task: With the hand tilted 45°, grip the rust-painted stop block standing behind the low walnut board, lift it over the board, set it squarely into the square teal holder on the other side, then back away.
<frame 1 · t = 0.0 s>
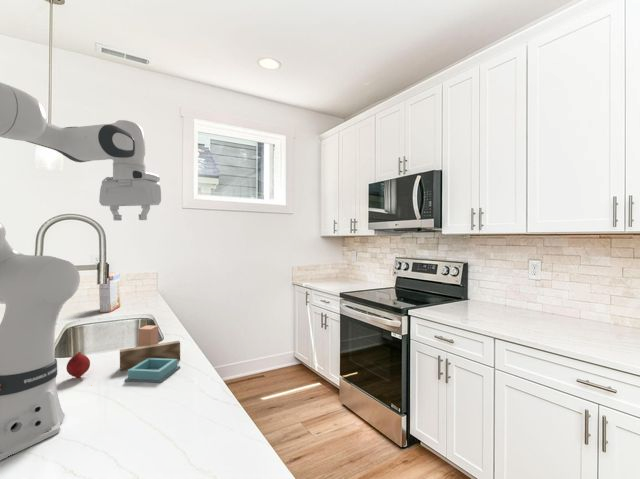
hand: (130, 220, 104), 48 cm above the counter, tool pointing down, fingers open, 8 cm apart
onion: (78, 378, 102), on the counter
cracker box: (110, 310, 193), on the counter
walnut board: (151, 363, 113), on the counter
stop block: (148, 354, 121), on the counter
holder: (153, 374, 104), on the counter
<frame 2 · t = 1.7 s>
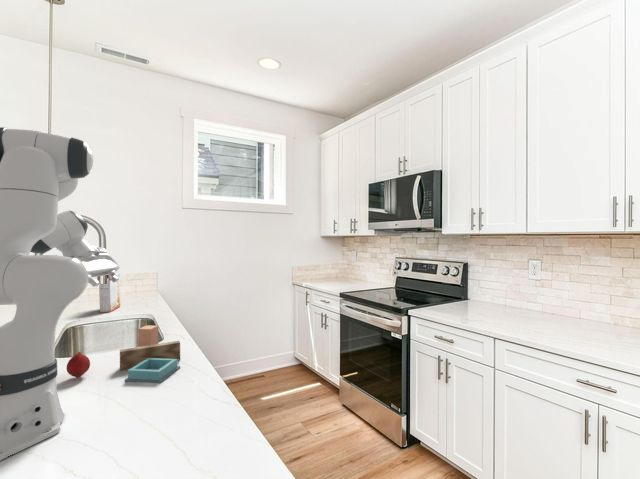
hand: (107, 283, 121), 26 cm above the counter, tool tilted 45°, fingers open, 8 cm apart
nothing on the counter moved.
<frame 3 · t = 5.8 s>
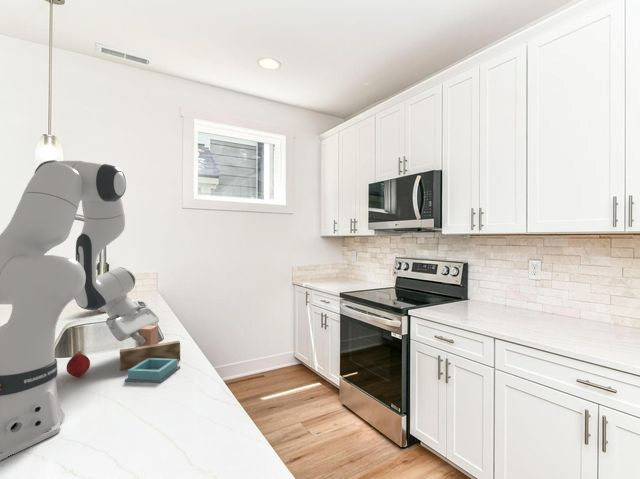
hand: (150, 339, 121), 5 cm above the counter, tool tilted 45°, fingers closed on stop block, 5 cm apart
stop block: (148, 354, 121), on the counter, touching gripper
everything else where it was.
when the fingers open (7 cm above the counter, at t = 12.9 s): stop block drops 2 cm, resting on holder.
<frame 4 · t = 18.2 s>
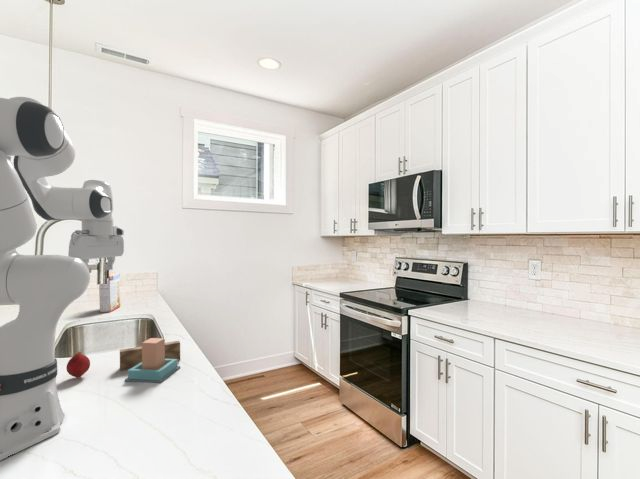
hand: (98, 271, 112), 31 cm above the counter, tool pointing down, fingers open, 8 cm apart
stop block: (153, 372, 104), point 1 cm above the counter, touching holder
everything else where it was.
at the end: stop block 0.1 cm off-centre on the holder, point 0.6 cm above the holder's base; stop block tilted 0°; the gripper is holding nothing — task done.
